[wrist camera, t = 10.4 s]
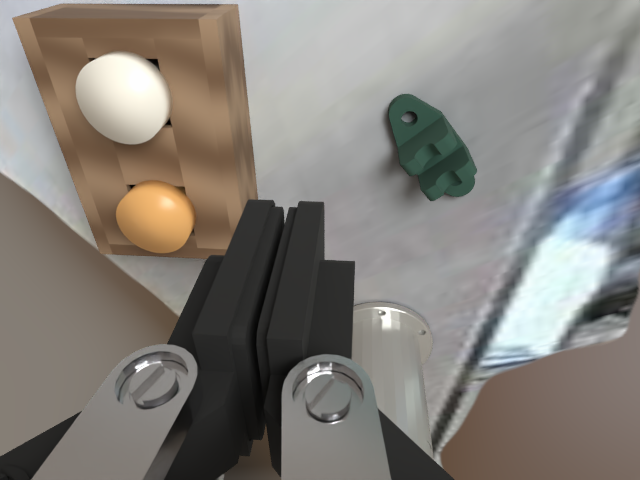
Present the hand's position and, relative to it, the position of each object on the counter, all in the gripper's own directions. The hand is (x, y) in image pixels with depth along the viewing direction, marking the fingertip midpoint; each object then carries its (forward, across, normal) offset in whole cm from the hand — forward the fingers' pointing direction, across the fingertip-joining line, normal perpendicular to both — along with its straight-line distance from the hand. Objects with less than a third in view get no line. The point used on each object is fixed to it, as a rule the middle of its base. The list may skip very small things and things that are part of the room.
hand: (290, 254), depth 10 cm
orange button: (+27, +15, +14) cm, 34 cm away
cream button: (+27, +15, +4) cm, 31 cm away
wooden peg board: (+29, +15, +9) cm, 34 cm away
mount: (+30, -8, +10) cm, 32 cm away
